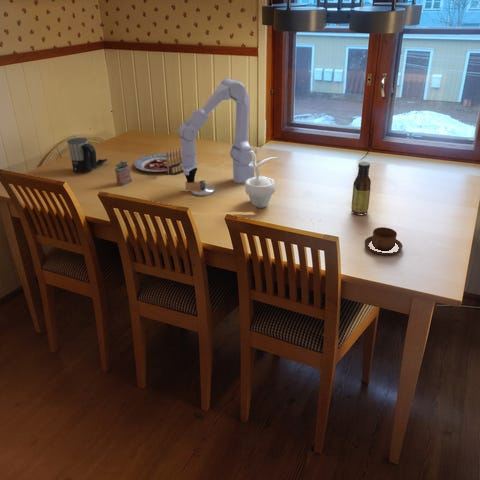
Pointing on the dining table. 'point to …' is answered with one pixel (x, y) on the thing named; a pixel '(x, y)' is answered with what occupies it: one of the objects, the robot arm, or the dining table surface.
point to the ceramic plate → (152, 163)
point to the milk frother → (83, 155)
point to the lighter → (123, 173)
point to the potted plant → (259, 185)
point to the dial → (199, 188)
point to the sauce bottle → (361, 189)
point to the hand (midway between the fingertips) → (191, 185)
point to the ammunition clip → (174, 162)
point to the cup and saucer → (383, 240)
